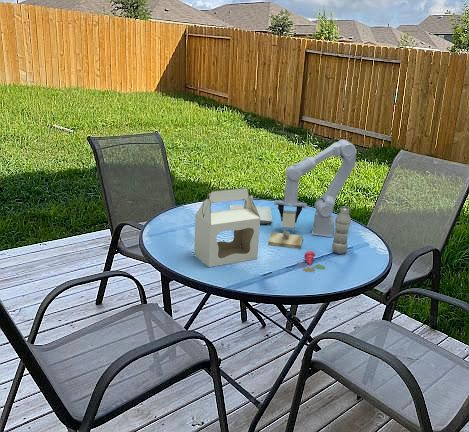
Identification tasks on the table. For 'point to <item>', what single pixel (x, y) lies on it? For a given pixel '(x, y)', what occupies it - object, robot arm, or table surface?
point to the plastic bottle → (341, 231)
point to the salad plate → (262, 211)
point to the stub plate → (285, 240)
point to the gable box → (235, 219)
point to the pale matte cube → (289, 218)
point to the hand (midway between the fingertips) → (288, 221)
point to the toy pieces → (309, 262)
